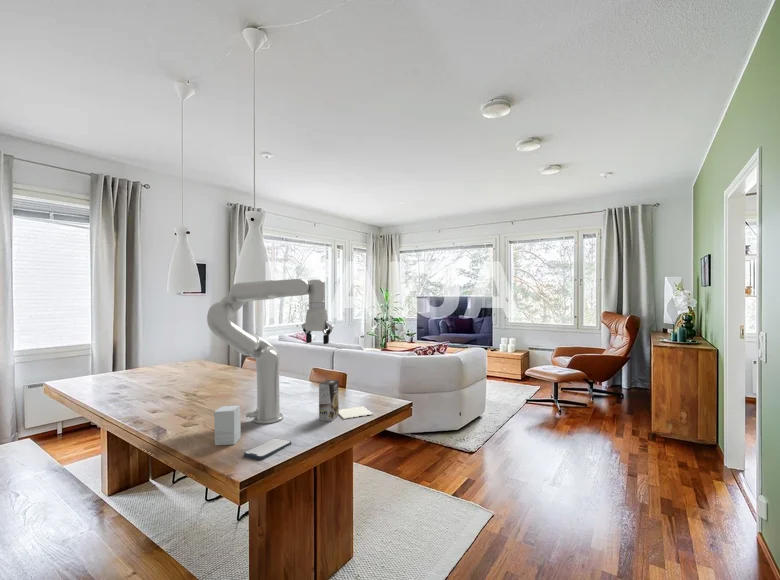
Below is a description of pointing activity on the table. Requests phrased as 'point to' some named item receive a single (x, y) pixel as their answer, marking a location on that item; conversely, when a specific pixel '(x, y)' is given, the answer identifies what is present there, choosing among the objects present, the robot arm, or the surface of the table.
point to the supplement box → (227, 425)
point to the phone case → (267, 449)
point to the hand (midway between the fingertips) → (317, 343)
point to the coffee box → (328, 400)
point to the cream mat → (354, 412)
